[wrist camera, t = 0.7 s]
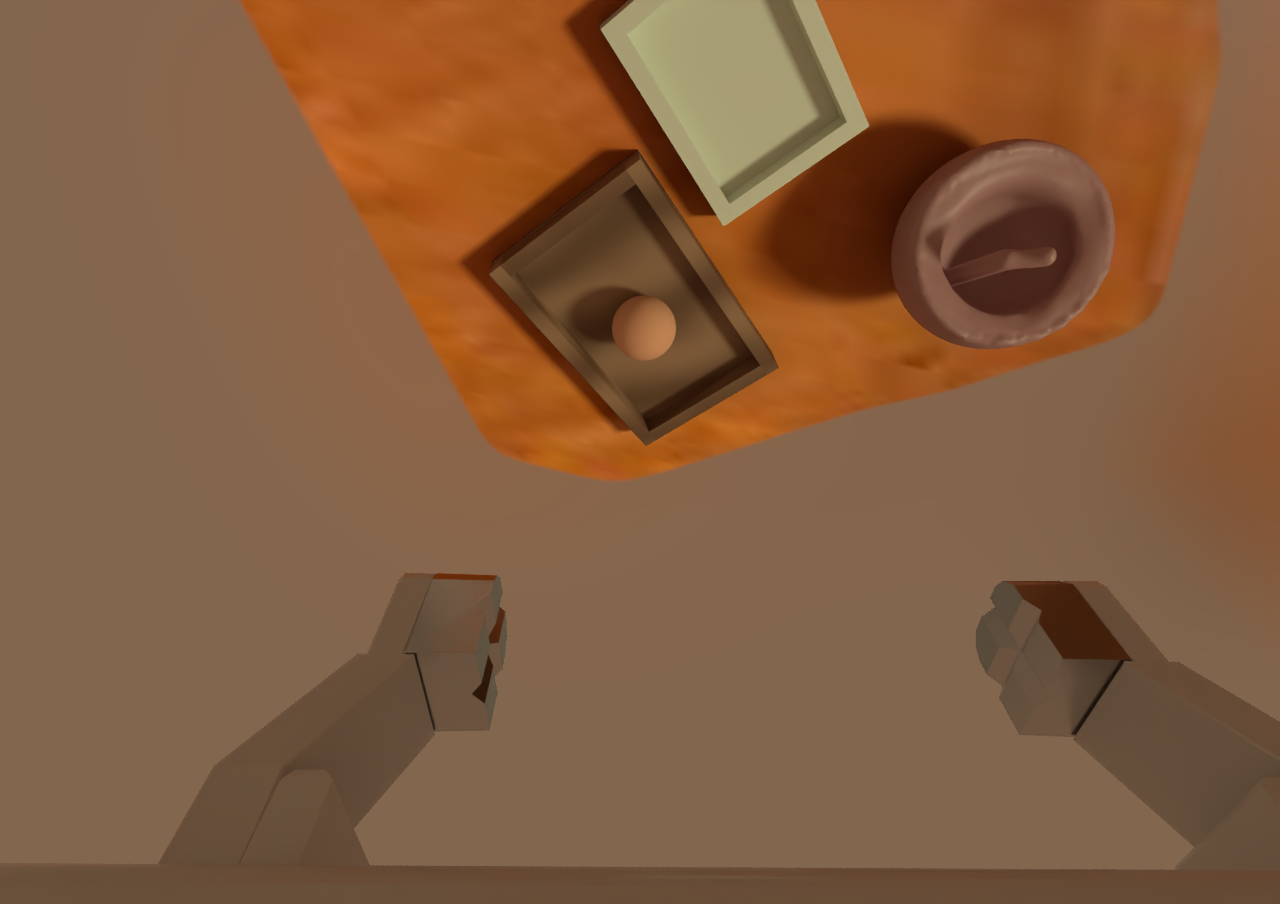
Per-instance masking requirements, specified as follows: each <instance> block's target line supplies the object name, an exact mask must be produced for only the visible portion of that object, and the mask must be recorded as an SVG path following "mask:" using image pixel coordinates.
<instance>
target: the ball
mask: <svg viewBox="0 0 1280 904" xmlns="http://www.w3.org/2000/svg"><path fill="white" fill-rule="evenodd" d="M612 333H613V338H614V340H615V343H616V344H617V346H618V348H619V349H620V350H621V351H622V352H623V353H624V354H625V355H627V356H629V357H631V358H633V359H636V360H642V361H646V360H652V359H655V358H658V357H659V356H661V355H663V354H664V353H665V352H666V351H667V350H668V349H669V348H670V346H671V345H672V343H673V341H674V338H675V333H676V322H675V318H674V315H673V313H672V311H671V310H670V308H669V307H668V306H667V305H666V304H665V303H664V302H662V301H661V300H659V299H657V298H655V297H652V296H636V297H633V298H631V299H629V300H627V301H626V302H624V303H623V304H622V305H621V306H620V307H619V309H618V310H617V312H616V313H615V316H614V318H613V323H612Z"/></svg>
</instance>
